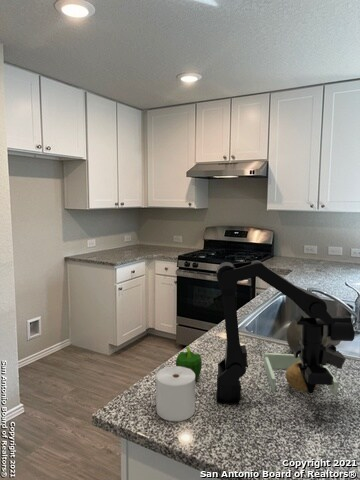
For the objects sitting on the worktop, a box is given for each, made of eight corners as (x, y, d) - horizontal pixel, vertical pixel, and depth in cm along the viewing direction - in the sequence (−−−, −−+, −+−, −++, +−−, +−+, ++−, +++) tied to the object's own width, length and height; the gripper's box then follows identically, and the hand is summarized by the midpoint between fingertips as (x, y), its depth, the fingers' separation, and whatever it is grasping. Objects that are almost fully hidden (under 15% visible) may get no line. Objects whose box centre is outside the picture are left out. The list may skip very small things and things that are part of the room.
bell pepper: (199, 386, 106) (199, 355, 105) (173, 384, 108) (173, 353, 107) (203, 373, 114) (203, 344, 113) (179, 371, 116) (179, 342, 115)
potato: (327, 383, 108) (327, 358, 107) (312, 403, 97) (312, 375, 96) (296, 374, 114) (297, 351, 113) (279, 392, 103) (279, 366, 103)
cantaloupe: (282, 360, 125) (283, 320, 123) (289, 346, 137) (290, 309, 135) (324, 368, 118) (326, 326, 117) (327, 353, 130) (329, 315, 129)
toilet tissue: (183, 427, 87) (183, 389, 86) (144, 412, 93) (144, 377, 92) (201, 405, 96) (201, 371, 95) (165, 394, 102) (165, 361, 101)
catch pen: (271, 391, 103) (272, 375, 103) (264, 366, 119) (264, 353, 119) (337, 395, 102) (338, 379, 101) (320, 369, 117) (321, 355, 117)
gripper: (355, 354, 85) (353, 414, 87) (331, 328, 104) (329, 378, 105) (309, 352, 87) (307, 411, 88) (293, 327, 105) (292, 376, 106)
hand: (310, 392), depth 97 cm, fingers closed
